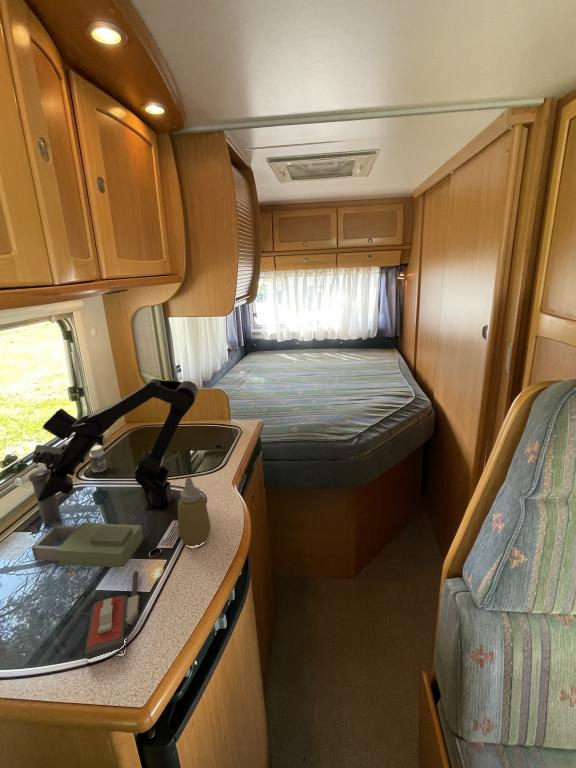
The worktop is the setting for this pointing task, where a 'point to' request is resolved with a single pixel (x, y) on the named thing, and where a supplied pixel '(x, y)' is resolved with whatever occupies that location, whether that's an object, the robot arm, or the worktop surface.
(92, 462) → the pill bottle
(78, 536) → the green stepped slab
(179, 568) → the worktop surface
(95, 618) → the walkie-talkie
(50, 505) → the grey domed pawn
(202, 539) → the squeeze bottle
